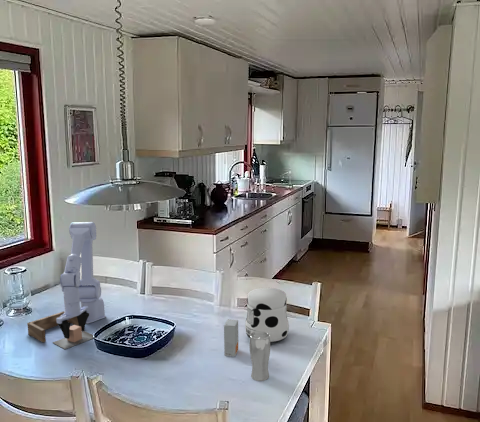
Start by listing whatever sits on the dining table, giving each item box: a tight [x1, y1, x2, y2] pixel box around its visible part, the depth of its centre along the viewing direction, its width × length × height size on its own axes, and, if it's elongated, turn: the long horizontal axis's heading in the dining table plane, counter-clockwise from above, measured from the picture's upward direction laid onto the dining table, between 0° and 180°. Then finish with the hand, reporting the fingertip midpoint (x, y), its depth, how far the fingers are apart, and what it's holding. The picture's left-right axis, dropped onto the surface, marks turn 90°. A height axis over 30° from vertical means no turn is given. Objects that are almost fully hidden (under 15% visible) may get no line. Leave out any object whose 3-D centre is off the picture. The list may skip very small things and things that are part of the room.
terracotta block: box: [67, 324, 82, 342], centre depth 194 cm, size 4×4×5 cm
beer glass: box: [249, 331, 271, 382], centre depth 163 cm, size 7×7×15 cm
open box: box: [26, 310, 94, 350], centre depth 199 cm, size 18×24×5 cm
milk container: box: [244, 287, 290, 344], centre depth 193 cm, size 17×17×18 cm
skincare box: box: [223, 318, 239, 358], centre depth 181 cm, size 6×4×12 cm
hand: (74, 334), depth 194 cm, fingers open, 7 cm apart
